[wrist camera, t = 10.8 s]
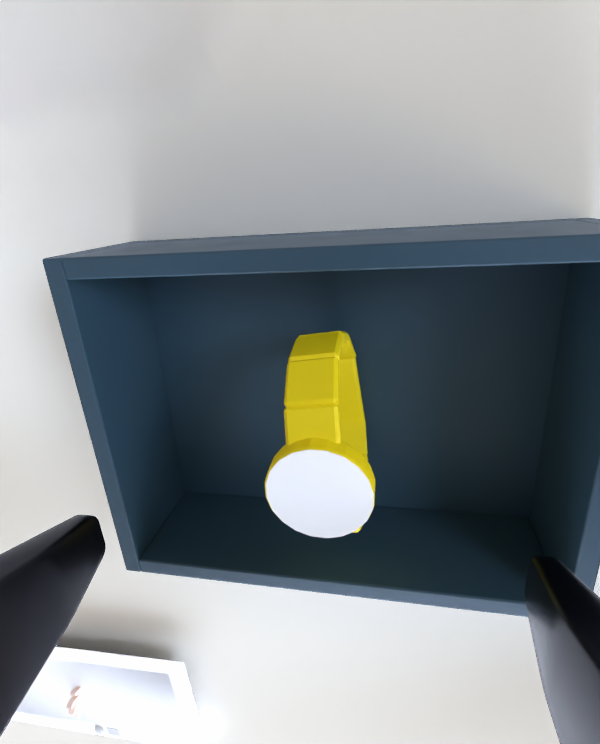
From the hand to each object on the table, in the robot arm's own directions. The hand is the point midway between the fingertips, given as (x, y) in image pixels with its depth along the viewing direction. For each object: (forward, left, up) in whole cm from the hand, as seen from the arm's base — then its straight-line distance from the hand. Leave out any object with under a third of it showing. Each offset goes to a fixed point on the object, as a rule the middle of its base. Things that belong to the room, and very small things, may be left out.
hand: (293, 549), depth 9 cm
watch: (0, 0, -8) cm, 8 cm away
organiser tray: (0, 0, -8) cm, 9 cm away
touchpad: (+16, +20, -9) cm, 27 cm away
